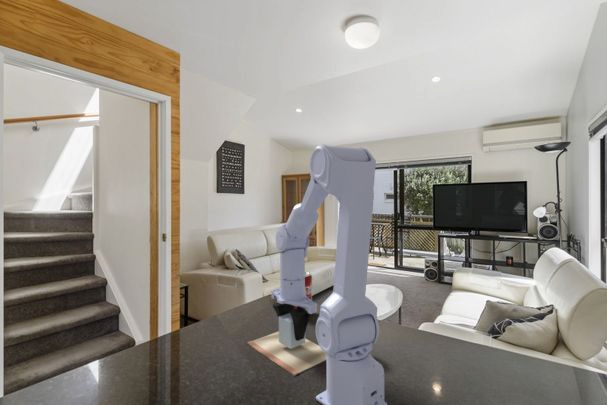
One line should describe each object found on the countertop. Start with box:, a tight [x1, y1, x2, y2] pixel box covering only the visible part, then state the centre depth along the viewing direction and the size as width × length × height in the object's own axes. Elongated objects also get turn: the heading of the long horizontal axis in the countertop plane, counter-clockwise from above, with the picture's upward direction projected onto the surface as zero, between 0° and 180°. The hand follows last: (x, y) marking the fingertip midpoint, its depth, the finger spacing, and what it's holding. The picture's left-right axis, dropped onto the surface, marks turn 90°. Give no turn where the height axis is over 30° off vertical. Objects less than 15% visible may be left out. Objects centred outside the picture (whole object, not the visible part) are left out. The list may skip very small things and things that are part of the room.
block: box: [278, 313, 306, 349], centre depth 73 cm, size 4×4×6 cm
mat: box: [246, 330, 326, 377], centre depth 72 cm, size 18×12×1 cm, turn 41°
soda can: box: [293, 271, 313, 310], centre depth 94 cm, size 7×7×12 cm
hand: (292, 335), depth 73 cm, fingers closed on block, 4 cm apart
